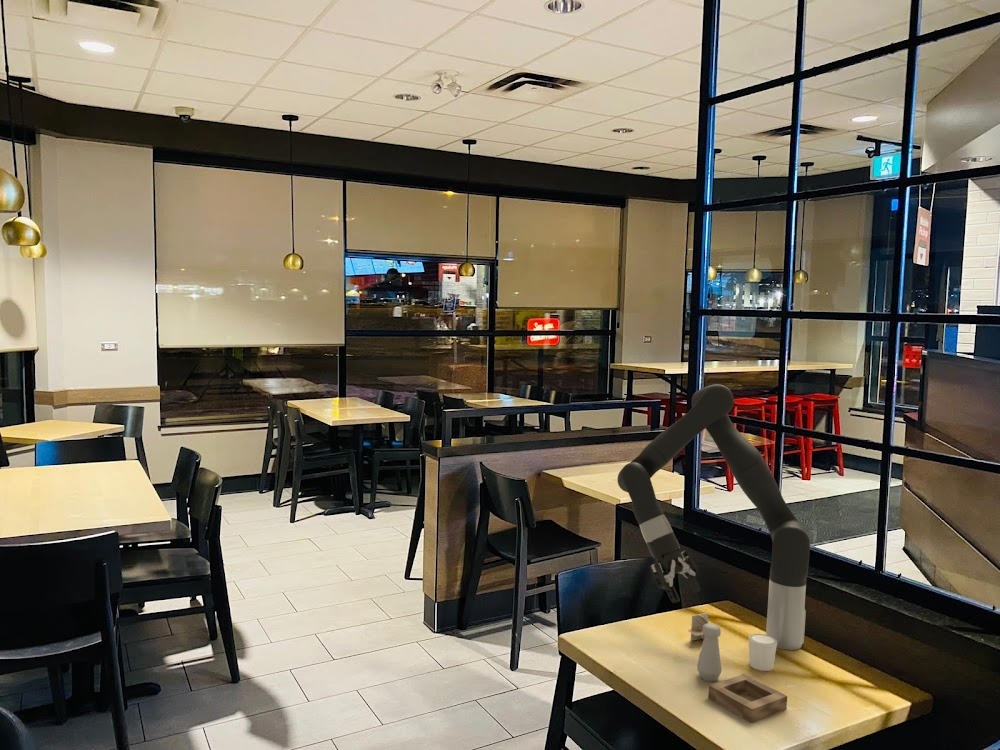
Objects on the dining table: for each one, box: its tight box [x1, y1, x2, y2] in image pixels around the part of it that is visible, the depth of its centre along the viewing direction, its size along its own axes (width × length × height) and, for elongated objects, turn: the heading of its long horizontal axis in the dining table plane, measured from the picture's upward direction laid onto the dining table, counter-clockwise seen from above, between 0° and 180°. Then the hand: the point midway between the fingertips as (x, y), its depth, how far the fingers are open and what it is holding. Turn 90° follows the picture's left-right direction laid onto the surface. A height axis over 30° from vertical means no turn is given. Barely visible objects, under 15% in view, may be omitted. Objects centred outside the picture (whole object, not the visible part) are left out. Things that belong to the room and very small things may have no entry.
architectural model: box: [688, 612, 714, 641], centre depth 201 cm, size 3×7×7 cm, turn 116°
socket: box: [707, 673, 788, 723], centre depth 169 cm, size 12×12×3 cm
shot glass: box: [748, 633, 778, 672], centre depth 188 cm, size 7×7×7 cm
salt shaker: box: [696, 622, 723, 682], centre depth 180 cm, size 6×6×13 cm
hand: (686, 596), depth 188 cm, fingers open, 8 cm apart
